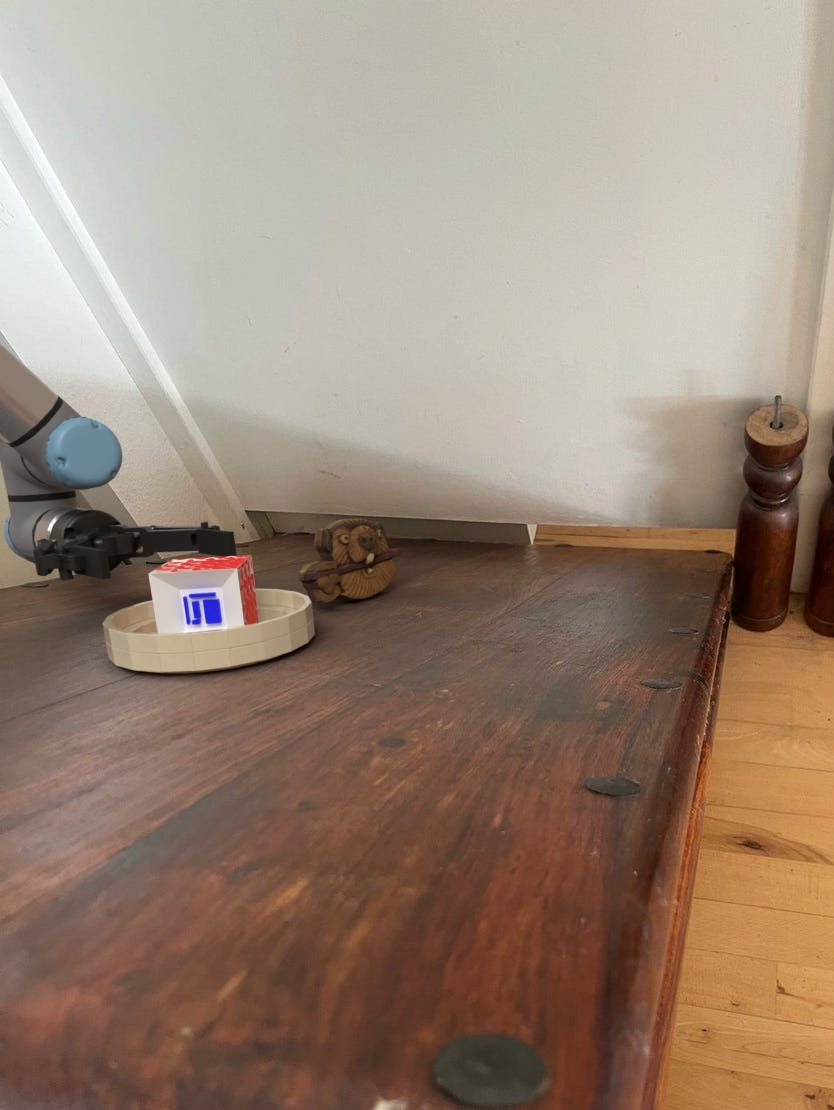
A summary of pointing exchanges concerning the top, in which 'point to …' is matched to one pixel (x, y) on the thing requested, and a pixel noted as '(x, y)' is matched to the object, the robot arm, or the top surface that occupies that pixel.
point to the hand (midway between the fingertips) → (172, 554)
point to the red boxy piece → (204, 594)
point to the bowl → (209, 637)
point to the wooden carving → (349, 562)
